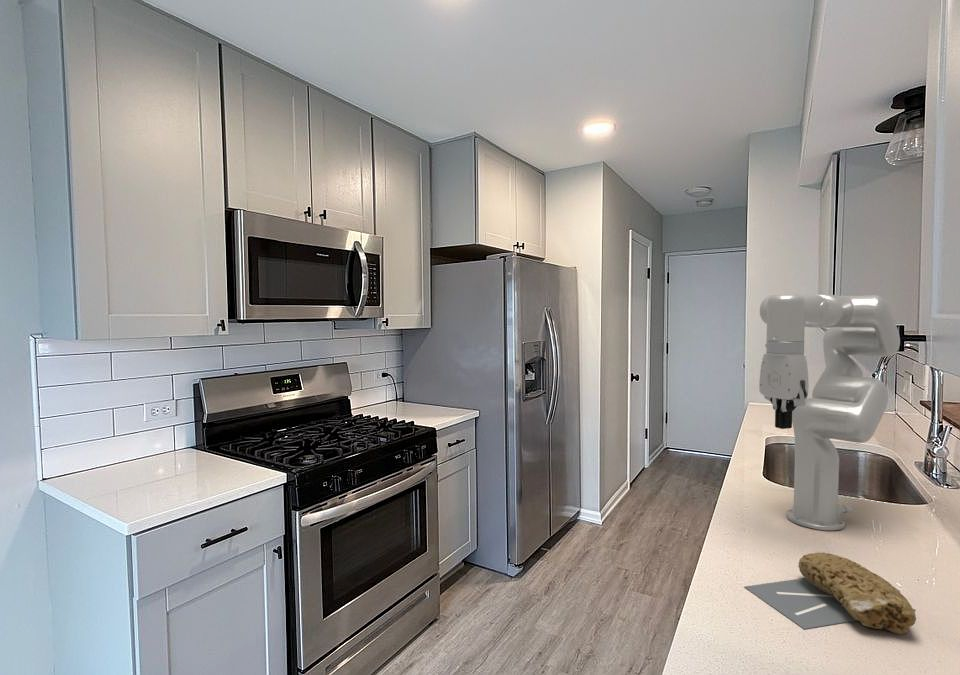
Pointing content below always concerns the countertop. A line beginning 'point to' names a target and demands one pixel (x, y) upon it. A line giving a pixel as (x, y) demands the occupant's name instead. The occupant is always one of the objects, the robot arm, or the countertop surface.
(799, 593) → the mat
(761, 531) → the countertop surface
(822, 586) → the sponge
